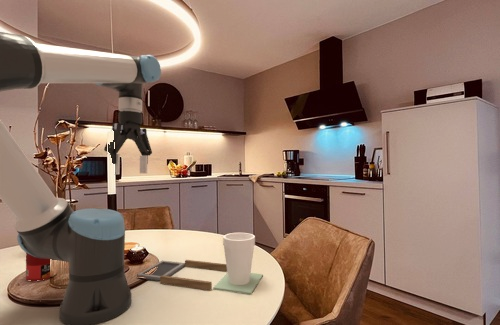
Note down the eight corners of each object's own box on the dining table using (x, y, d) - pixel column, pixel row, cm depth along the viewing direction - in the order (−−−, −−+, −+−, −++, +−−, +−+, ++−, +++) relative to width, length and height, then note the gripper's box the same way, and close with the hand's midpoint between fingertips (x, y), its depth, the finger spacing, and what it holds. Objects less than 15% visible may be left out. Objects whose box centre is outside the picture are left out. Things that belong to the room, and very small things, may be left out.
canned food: (45, 282, 81) (45, 245, 81) (18, 282, 81) (19, 244, 81) (63, 272, 88) (63, 238, 89) (39, 272, 89) (39, 238, 89)
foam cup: (219, 277, 83) (219, 234, 83) (247, 272, 87) (247, 231, 87) (229, 289, 75) (229, 242, 75) (260, 284, 78) (260, 238, 78)
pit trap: (162, 281, 81) (162, 277, 81) (136, 278, 83) (136, 274, 83) (184, 266, 93) (184, 263, 93) (162, 263, 96) (162, 260, 96)
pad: (251, 294, 73) (251, 292, 73) (213, 289, 76) (213, 287, 76) (262, 275, 85) (262, 274, 85) (230, 271, 89) (230, 270, 89)
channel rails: (210, 290, 75) (210, 283, 75) (160, 283, 80) (160, 276, 80) (229, 270, 90) (229, 264, 90) (186, 265, 94) (186, 259, 94)
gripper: (111, 103, 81) (110, 175, 81) (161, 117, 105) (161, 173, 105) (91, 105, 83) (90, 174, 83) (145, 118, 107) (144, 172, 107)
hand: (130, 173), depth 94 cm, fingers open, 13 cm apart
